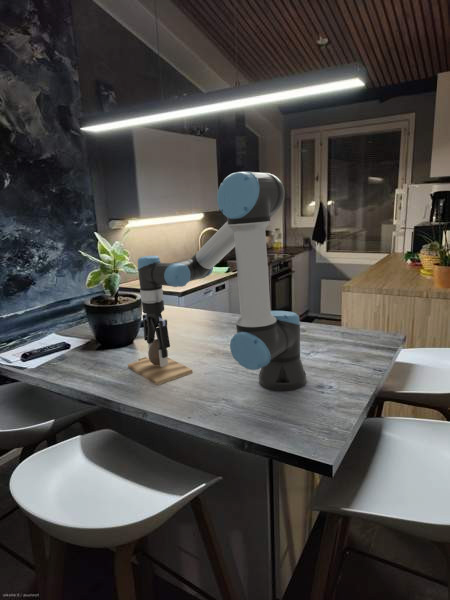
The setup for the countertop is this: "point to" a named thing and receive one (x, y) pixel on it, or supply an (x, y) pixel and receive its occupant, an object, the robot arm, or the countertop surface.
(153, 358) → the vase
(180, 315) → the countertop surface
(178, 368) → the board
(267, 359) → the robot arm
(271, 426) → the countertop surface
